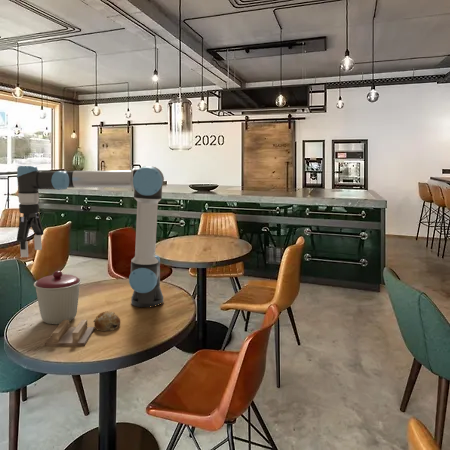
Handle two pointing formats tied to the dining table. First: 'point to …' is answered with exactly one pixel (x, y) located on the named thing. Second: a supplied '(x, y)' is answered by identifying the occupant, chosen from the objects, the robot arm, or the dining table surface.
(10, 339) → the dining table surface
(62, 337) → the display stand
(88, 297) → the dining table surface
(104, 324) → the bread roll
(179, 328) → the dining table surface
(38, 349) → the dining table surface
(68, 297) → the canister
